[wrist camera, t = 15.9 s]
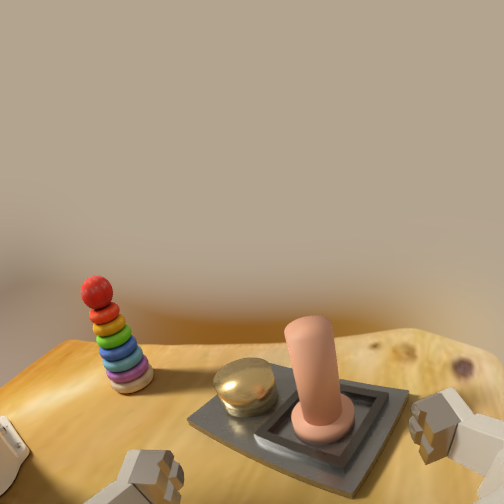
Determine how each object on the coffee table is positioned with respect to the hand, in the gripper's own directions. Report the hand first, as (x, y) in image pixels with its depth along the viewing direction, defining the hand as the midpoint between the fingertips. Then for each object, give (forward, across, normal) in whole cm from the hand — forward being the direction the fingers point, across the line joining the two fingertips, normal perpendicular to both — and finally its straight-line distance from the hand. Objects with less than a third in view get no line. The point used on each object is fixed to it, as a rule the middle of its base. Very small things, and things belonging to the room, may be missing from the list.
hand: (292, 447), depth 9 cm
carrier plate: (+19, +1, +18) cm, 26 cm away
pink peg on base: (+16, -2, +17) cm, 24 cm away
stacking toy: (+32, +26, +19) cm, 46 cm away
